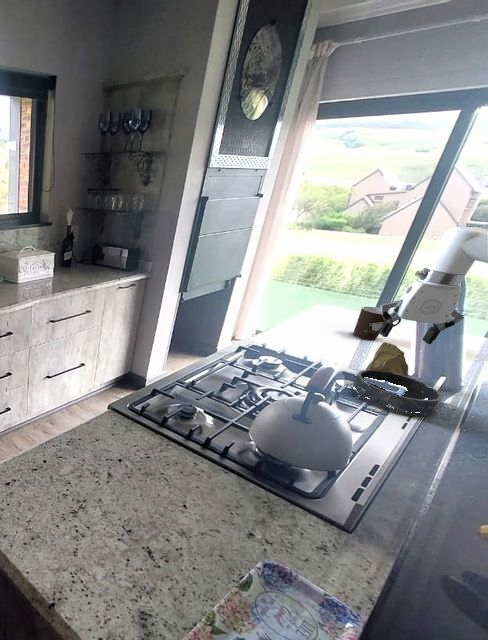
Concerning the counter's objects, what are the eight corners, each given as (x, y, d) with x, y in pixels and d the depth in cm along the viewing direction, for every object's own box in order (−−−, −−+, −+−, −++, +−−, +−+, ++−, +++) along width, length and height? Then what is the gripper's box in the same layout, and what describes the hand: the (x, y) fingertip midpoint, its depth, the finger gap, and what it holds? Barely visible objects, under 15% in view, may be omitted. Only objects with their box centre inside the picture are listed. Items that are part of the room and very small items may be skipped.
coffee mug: (348, 336, 145) (361, 310, 140) (349, 330, 150) (362, 304, 146) (390, 346, 138) (406, 319, 133) (390, 339, 144) (405, 312, 139)
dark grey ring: (413, 391, 111) (422, 377, 108) (445, 422, 97) (456, 407, 95) (342, 379, 116) (349, 365, 114) (363, 407, 103) (372, 392, 100)
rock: (411, 368, 118) (370, 354, 123) (430, 354, 111) (385, 339, 116) (396, 397, 116) (355, 381, 121) (414, 384, 108) (369, 368, 113)
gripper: (405, 276, 103) (371, 337, 112) (494, 287, 98) (451, 350, 106) (393, 269, 109) (361, 328, 118) (475, 279, 104) (436, 339, 112)
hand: (404, 338), depth 112 cm, fingers open, 9 cm apart
